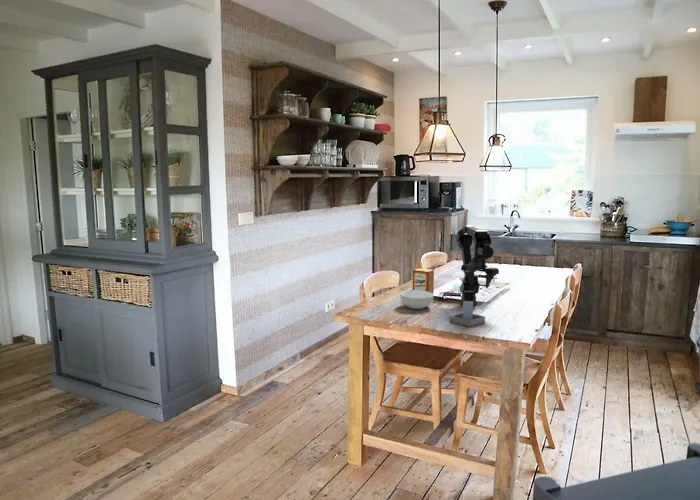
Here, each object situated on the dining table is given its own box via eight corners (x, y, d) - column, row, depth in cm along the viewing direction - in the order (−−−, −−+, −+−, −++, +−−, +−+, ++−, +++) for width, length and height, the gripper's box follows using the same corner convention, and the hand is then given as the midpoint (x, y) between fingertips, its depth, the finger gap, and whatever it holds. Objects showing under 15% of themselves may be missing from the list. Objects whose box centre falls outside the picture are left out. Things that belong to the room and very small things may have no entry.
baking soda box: (412, 297, 293) (412, 269, 290) (418, 295, 298) (418, 267, 295) (427, 300, 287) (428, 271, 285) (433, 297, 292) (433, 269, 290)
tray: (450, 322, 247) (450, 315, 246) (465, 317, 254) (465, 311, 254) (470, 327, 238) (470, 321, 238) (484, 322, 246) (485, 316, 245)
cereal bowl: (405, 312, 264) (406, 298, 262) (396, 303, 280) (396, 290, 279) (438, 310, 267) (438, 296, 266) (426, 302, 283) (427, 289, 282)
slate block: (462, 319, 248) (463, 300, 247) (472, 320, 247) (473, 301, 246) (462, 321, 245) (463, 302, 243) (472, 322, 244) (473, 303, 242)
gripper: (454, 254, 262) (453, 285, 264) (486, 259, 248) (485, 291, 250) (468, 252, 269) (467, 282, 271) (500, 256, 255) (498, 288, 257)
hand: (479, 286), depth 262 cm, fingers open, 9 cm apart
